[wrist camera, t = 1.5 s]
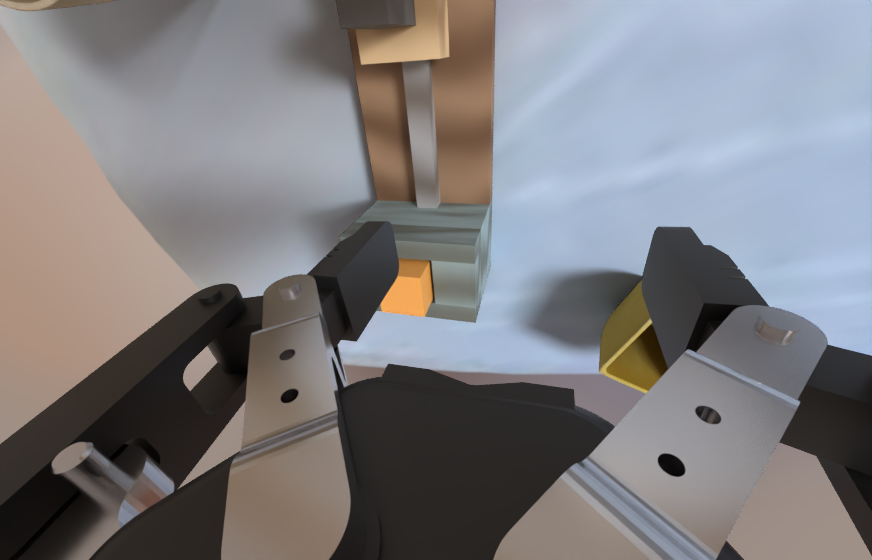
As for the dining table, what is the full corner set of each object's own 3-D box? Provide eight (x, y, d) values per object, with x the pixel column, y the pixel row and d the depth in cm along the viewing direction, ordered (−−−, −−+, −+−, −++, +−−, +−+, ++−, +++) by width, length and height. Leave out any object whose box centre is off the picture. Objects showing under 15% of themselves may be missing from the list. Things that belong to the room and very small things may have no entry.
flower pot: (588, 313, 40) (596, 373, 33) (637, 253, 35) (659, 310, 28) (660, 343, 40) (684, 411, 33) (721, 288, 34) (765, 354, 27)
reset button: (387, 255, 31) (374, 273, 29) (430, 259, 30) (420, 278, 28) (393, 291, 34) (381, 311, 31) (433, 296, 33) (424, 316, 30)
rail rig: (337, -87, 26) (244, -139, 18) (497, -119, 23) (469, -197, 15) (392, 257, 43) (356, 308, 35) (490, 265, 40) (475, 322, 32)
